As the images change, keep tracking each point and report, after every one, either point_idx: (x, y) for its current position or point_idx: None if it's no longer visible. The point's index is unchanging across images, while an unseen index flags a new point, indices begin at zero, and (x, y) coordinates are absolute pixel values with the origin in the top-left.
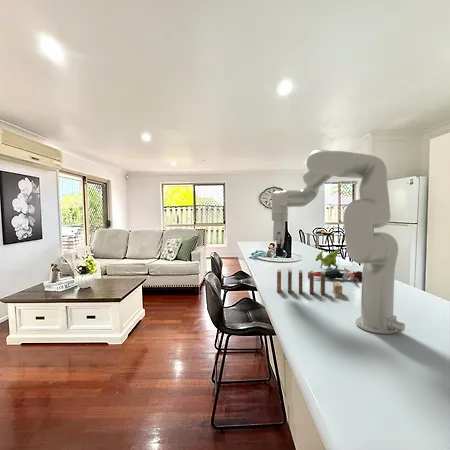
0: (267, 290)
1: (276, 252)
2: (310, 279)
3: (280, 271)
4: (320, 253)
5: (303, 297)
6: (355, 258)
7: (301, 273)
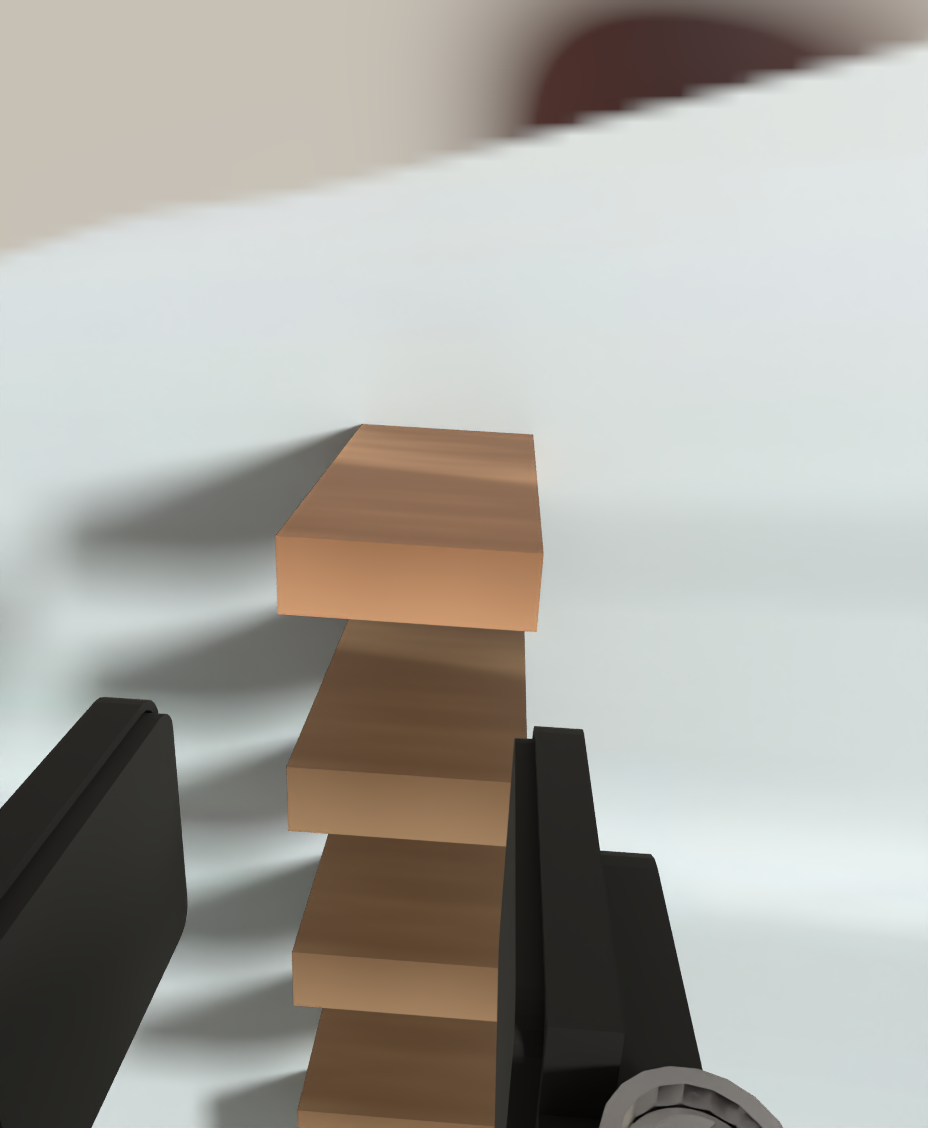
0: (436, 256)
1: (25, 824)
2: (322, 1013)
3: (289, 612)
4: None
5: (199, 763)
6: None
7: (296, 976)
